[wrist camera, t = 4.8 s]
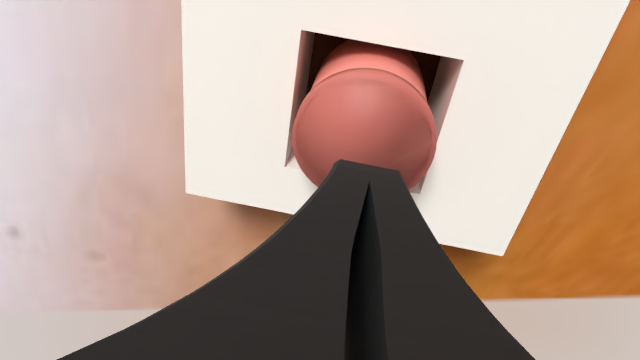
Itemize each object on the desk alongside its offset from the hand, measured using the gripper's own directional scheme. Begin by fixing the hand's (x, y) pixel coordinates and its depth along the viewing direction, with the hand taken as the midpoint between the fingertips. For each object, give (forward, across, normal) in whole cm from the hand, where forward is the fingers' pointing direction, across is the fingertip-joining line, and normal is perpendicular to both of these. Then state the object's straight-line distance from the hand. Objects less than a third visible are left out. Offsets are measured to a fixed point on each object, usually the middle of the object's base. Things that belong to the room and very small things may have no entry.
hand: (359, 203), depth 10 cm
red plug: (+7, 0, 0) cm, 7 cm away
